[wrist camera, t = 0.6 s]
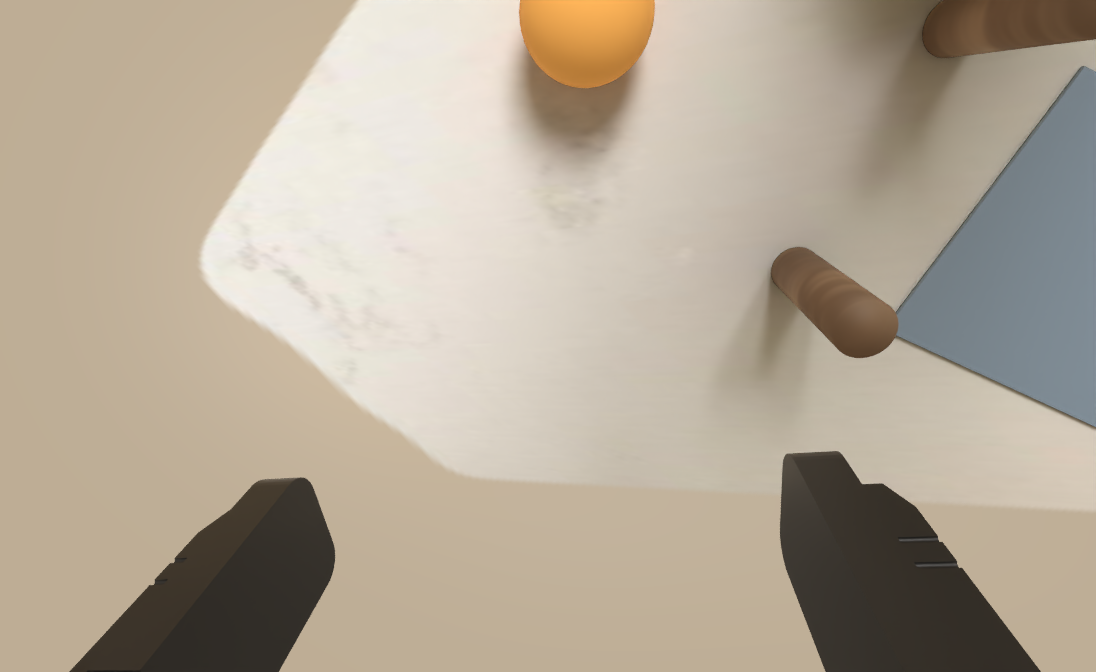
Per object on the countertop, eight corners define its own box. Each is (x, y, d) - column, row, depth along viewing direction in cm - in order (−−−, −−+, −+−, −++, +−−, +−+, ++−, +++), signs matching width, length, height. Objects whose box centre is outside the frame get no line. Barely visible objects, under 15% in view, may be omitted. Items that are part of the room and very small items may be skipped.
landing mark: (1081, 66, 26) (1085, 66, 26) (1331, 197, 28) (1336, 197, 27) (883, 328, 32) (885, 330, 32) (1097, 427, 34) (1099, 429, 33)
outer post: (788, 239, 31) (857, 290, 22) (828, 258, 31) (912, 315, 23) (762, 280, 32) (819, 343, 23) (802, 298, 32) (872, 367, 24)
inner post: (947, -15, 26) (1113, -70, 17) (994, 10, 26) (1180, -33, 18) (910, 43, 27) (1050, 17, 18) (956, 67, 27) (1115, 51, 19)
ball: (556, -72, 26) (545, -118, 21) (670, -15, 27) (689, -46, 21) (509, 58, 28) (488, 48, 23) (615, 109, 29) (619, 110, 23)
